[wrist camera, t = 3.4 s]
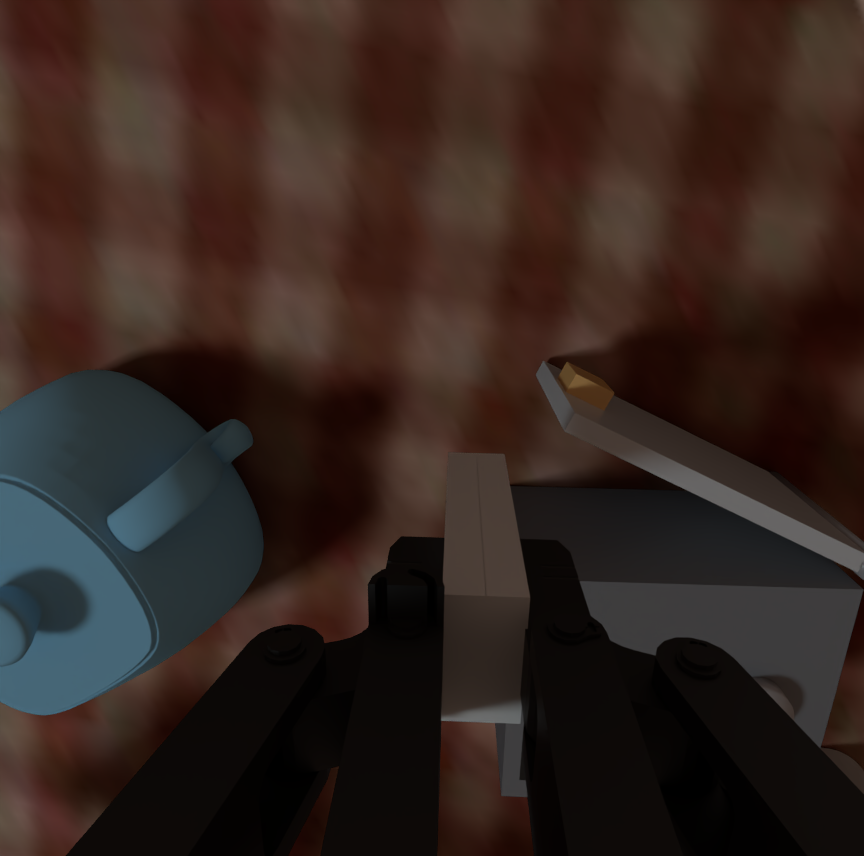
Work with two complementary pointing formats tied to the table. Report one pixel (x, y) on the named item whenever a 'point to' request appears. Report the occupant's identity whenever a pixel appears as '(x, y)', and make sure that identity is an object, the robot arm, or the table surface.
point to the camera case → (697, 592)
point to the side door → (694, 464)
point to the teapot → (113, 536)
